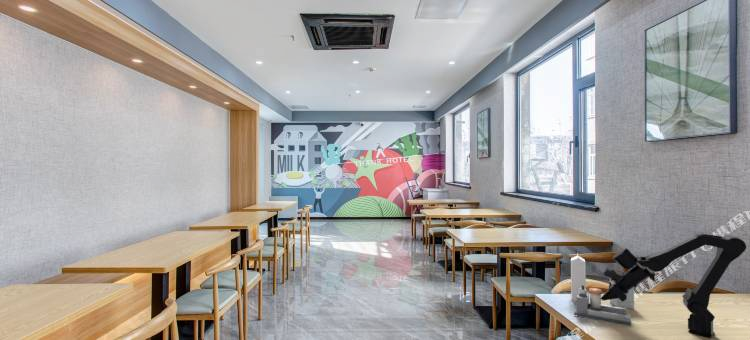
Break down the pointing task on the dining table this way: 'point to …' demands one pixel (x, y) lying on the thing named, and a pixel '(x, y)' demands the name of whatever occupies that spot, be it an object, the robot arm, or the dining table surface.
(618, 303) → the supplement box
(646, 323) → the dining table surface
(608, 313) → the mount
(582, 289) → the potentiometer
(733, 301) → the dining table surface
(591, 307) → the knob
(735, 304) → the dining table surface
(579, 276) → the milk
